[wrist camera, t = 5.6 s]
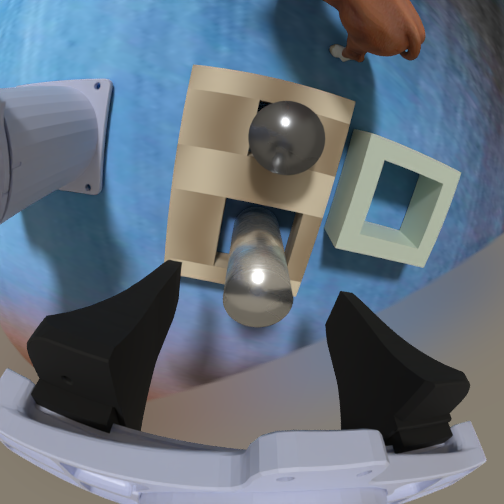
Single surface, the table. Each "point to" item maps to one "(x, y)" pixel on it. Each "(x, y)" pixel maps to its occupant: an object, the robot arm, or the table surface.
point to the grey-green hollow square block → (361, 193)
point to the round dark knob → (286, 138)
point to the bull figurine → (378, 29)
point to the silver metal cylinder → (257, 271)
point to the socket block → (244, 168)
